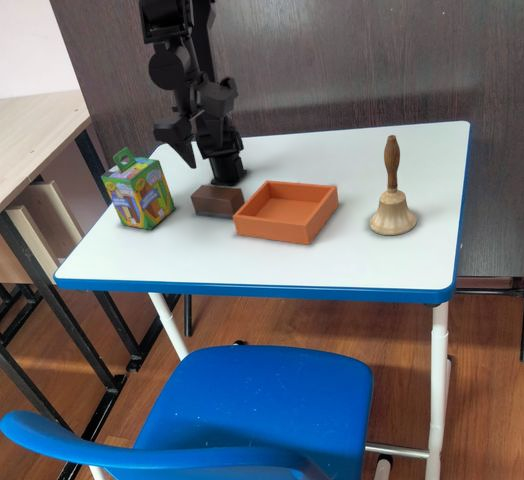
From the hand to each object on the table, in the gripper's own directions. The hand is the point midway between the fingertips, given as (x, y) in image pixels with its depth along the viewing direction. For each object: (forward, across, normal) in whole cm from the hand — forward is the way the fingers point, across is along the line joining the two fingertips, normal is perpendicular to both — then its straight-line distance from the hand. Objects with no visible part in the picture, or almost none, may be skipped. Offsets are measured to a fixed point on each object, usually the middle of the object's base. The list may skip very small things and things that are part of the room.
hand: (206, 157), depth 102 cm
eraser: (+12, 0, 0) cm, 12 cm away
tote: (+12, 0, -15) cm, 20 cm away
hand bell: (+13, +3, -36) cm, 38 cm away
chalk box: (+12, -4, +17) cm, 21 cm away
